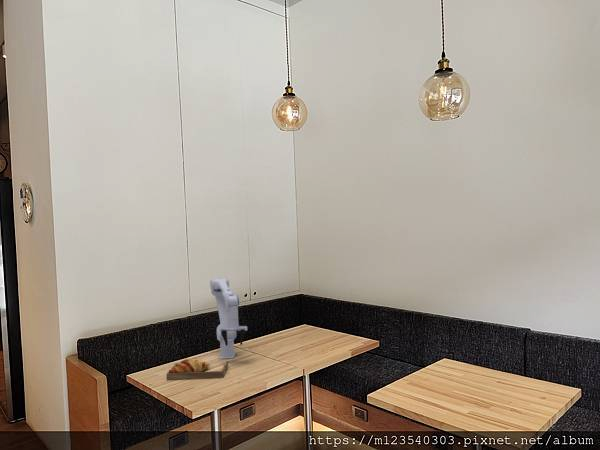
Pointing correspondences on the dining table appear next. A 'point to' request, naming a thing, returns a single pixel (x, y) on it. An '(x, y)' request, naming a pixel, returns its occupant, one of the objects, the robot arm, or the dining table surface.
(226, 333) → the robot arm
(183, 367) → the croissant
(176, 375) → the frame
